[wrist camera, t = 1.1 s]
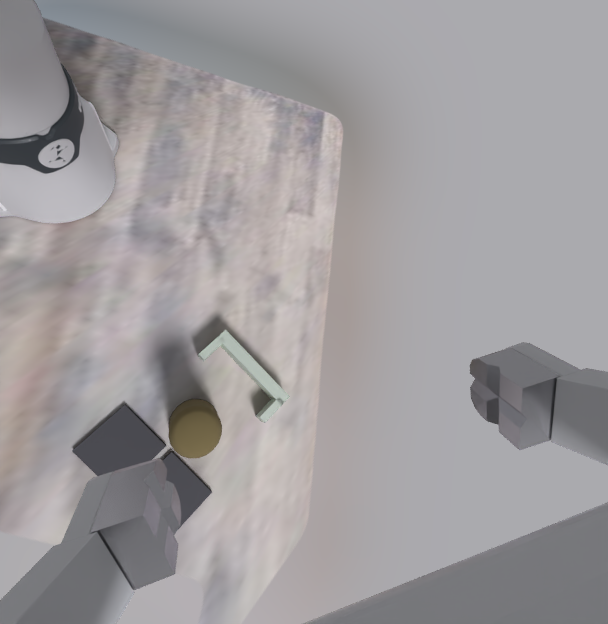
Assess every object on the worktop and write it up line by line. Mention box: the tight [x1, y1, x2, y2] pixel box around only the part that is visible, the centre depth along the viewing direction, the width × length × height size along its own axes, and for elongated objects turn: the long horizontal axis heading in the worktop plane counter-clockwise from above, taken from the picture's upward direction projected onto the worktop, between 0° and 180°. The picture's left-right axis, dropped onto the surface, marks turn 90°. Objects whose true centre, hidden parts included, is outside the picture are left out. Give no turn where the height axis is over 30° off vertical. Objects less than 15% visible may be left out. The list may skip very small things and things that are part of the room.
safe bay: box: [198, 330, 290, 423], centre depth 47 cm, size 12×4×3 cm, turn 46°
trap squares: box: [73, 405, 212, 529], centre depth 42 cm, size 15×7×1 cm, turn 46°
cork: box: [169, 399, 222, 458], centre depth 40 cm, size 6×6×11 cm
